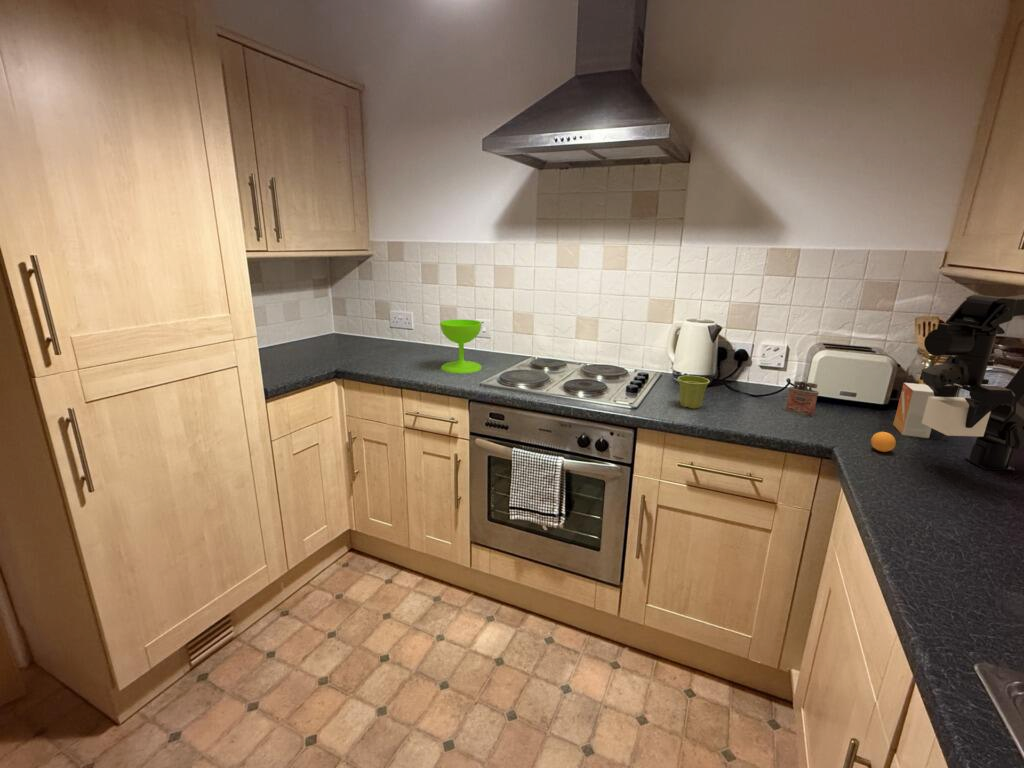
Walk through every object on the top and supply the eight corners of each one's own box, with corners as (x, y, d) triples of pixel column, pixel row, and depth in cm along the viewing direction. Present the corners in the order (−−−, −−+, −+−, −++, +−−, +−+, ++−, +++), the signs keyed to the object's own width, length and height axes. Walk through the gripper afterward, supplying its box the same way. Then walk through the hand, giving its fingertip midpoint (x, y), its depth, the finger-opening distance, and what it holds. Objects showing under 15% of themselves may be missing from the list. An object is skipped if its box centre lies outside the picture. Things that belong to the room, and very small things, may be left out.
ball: (885, 447, 129) (889, 429, 128) (897, 455, 125) (902, 436, 123) (864, 446, 130) (869, 428, 128) (876, 454, 125) (881, 435, 124)
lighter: (783, 411, 156) (788, 379, 153) (786, 408, 158) (792, 377, 155) (812, 417, 151) (818, 385, 148) (815, 414, 153) (821, 383, 150)
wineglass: (489, 366, 202) (489, 322, 197) (465, 375, 189) (464, 327, 184) (457, 361, 210) (457, 318, 205) (432, 369, 197) (431, 323, 192)
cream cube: (955, 424, 118) (963, 397, 117) (983, 436, 111) (991, 408, 109) (921, 423, 119) (928, 396, 117) (947, 435, 111) (954, 407, 109)
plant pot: (684, 411, 154) (688, 384, 151) (669, 401, 163) (672, 375, 160) (712, 409, 156) (715, 382, 153) (695, 400, 165) (698, 374, 162)
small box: (892, 425, 145) (903, 382, 142) (919, 428, 143) (930, 384, 139) (901, 435, 138) (912, 389, 134) (929, 438, 136) (942, 392, 132)
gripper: (904, 344, 119) (889, 406, 124) (969, 363, 101) (949, 435, 106) (953, 345, 119) (936, 408, 123) (1027, 364, 101) (1004, 437, 105)
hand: (953, 421), depth 114 cm, fingers closed on cream cube, 8 cm apart
